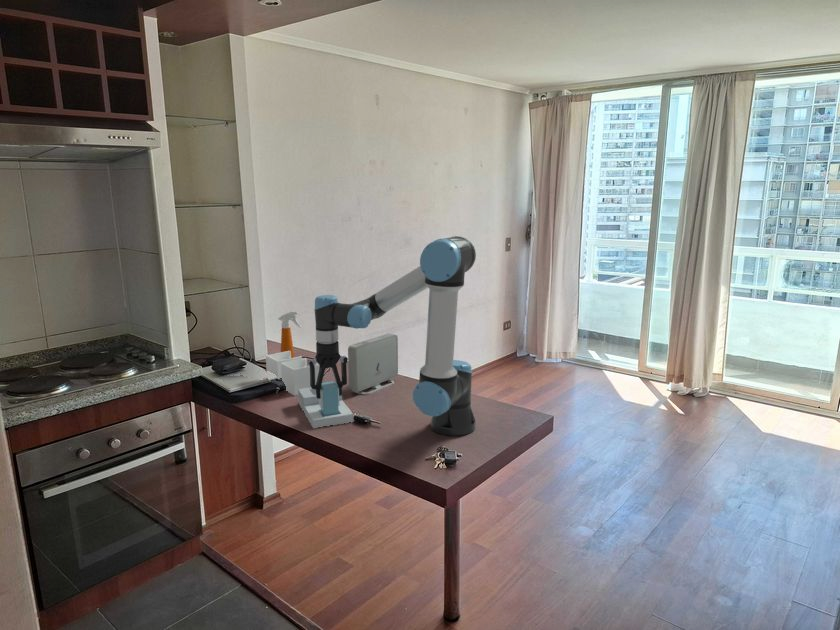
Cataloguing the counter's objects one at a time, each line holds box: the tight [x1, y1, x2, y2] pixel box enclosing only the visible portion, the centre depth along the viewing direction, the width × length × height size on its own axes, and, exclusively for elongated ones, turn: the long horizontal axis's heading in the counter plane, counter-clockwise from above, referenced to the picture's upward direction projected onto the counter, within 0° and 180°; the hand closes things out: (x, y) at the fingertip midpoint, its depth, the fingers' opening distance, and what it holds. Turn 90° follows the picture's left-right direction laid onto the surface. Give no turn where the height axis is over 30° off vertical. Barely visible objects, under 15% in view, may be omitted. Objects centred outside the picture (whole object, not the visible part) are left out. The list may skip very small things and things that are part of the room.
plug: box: [321, 381, 339, 417], centre depth 196 cm, size 6×5×12 cm
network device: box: [347, 333, 399, 396], centre depth 227 cm, size 26×9×20 cm, turn 143°
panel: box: [298, 387, 354, 429], centre depth 202 cm, size 24×14×6 cm, turn 23°
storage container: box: [265, 351, 320, 397], centre depth 231 cm, size 25×11×11 cm, turn 40°
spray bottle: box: [278, 310, 303, 358], centre depth 251 cm, size 7×11×26 cm, turn 86°
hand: (329, 405), depth 196 cm, fingers closed on plug, 5 cm apart
